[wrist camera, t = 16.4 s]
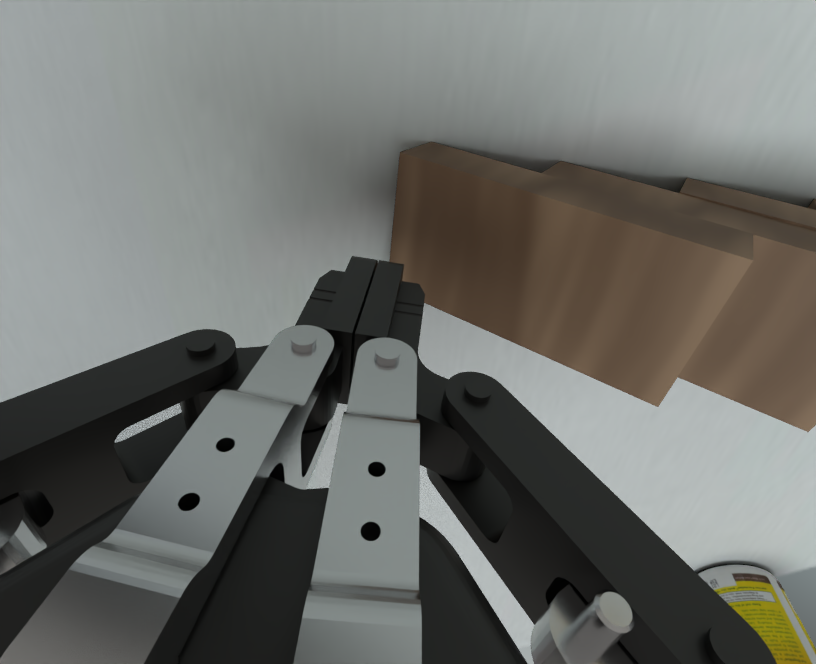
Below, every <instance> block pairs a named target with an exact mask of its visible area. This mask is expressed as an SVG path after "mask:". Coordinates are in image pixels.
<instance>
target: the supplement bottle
mask: <svg viewBox="0 0 816 664" xmlns="http://www.w3.org/2000/svg"><path fill="white" fill-rule="evenodd" d="M698 575H699V576H700V577H701V578H702V579H703V580H704V581H705V582H706V583H707V584H708V585H709V586H710V587H711V588H712V589H713V590H714V591H715V592H716V593H717V594H718V595H719V596H721V597H722V598H723V599H724V600H725V601H726V602H727V603H728V604H729V605H730V606H731V607H732V608H733V609H734V610H735V611H736V612H737V613H738V614H739V615H740V616H741V617H742V618H743V619H744V620H745V621H746V622H747V623H748V624H749V625H750V626H751V627H752V628H753V629H754V630H755V631H756V632H757V633H758V634H759V636H760V637H761V638H762V639H763V641H764V642H765V643H766V645H767V646H768V648H769V649H770V651H771V653H772V655H773V657H774V659H775V660H776V663H777V664H816V649H815V647H814V645H813V643H812V641H811V639H810V637H809V636H808V634H807V632H806V630H805V628H804V626H803V624H802V622H801V621H800V619H799V617H798V615H797V613H796V611H795V609H794V608H793V606H792V604H791V602H790V600H789V599H788V597H787V595H786V593H785V592H784V589H783V588H782V586H781V584H780V582H779V581H778V580H777V578H776V577H775V576H773V575H772V574H771V573H769V572H768V571H766V570H763V569H761V568H758V567H753V566H748V565H725V566H719V567H714V568H710V569H707V570H705V571H702V572H700V573H698Z"/></svg>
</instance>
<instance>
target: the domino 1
mask: <svg viewBox="0 0 816 664" xmlns="http://www.w3.org/2000/svg"><path fill="white" fill-rule="evenodd" d="M390 262H394V263H400V264H404V270H403V278H402V281H405V282H411V283H418V284H420V286H421V288H422V290H423V291H424V293H425V300H424V303H426V304H428V305H431V306H433V307H435V308H437V309H440V310H442V311H444V312H446V313H449V314H451V315H453V316H455V317H458V318H460V319H462V320H464V321H467V322H469V323H471V324H473V325H475V326H478V327H480V328H482V329H484V330H487V331H489V332H491V333H493V334H496V335H498V336H500V337H502V338H505V339H507V340H509V341H511V342H514V343H516V344H518V345H520V346H523V347H525V348H527V349H529V350H531V351H534V352H536V353H538V354H540V355H543V356H545V357H547V358H549V359H552V360H554V361H556V362H558V363H561V364H563V365H565V366H567V367H570V368H572V369H574V370H576V371H579V372H581V373H583V374H585V375H587V376H590V377H592V378H594V379H596V380H599V381H601V382H603V383H605V384H608V385H610V386H612V387H614V388H617V389H619V390H621V391H623V392H626V393H628V394H630V395H632V396H635V397H637V398H639V399H641V400H643V401H646V402H648V403H650V404H652V405H655V406H657V407H658V406H659V405H660V403H661V402H662V400H663V399H664V397H665V396H666V394H667V392H668V391H669V389H670V388H671V386H672V385H673V383H674V382H675V380H676V379H677V377H678V376H679V374H680V372H681V371H682V369H683V368H684V366H685V365H686V363H687V362H688V360H689V359H690V357H691V356H692V354H693V352H694V351H695V349H696V348H697V346H698V345H699V343H700V342H701V340H702V339H703V337H704V336H705V334H706V332H707V331H708V329H709V328H710V326H711V325H712V323H713V322H714V320H715V319H716V317H717V316H718V314H719V312H720V311H721V309H722V308H723V306H724V305H725V303H726V302H727V300H728V299H729V297H730V296H731V294H732V292H733V291H734V289H735V288H736V286H737V285H738V283H739V282H740V280H741V279H742V277H743V276H744V274H745V272H746V271H747V269H748V268H749V266H750V265H751V263H752V262H753V234H752V233H748V232H745V231H741V230H738V229H734V228H731V227H727V226H724V225H720V224H717V223H713V222H710V221H706V220H703V219H699V218H696V217H692V216H689V215H686V214H682V213H679V212H675V211H672V210H668V209H665V208H661V207H658V206H654V205H651V204H647V203H644V202H640V201H637V200H633V199H630V198H626V197H623V196H619V195H616V194H612V193H609V192H605V191H602V190H598V189H595V188H591V187H588V186H584V185H581V184H577V183H574V182H570V181H567V180H563V179H560V178H556V177H553V176H549V175H546V174H542V173H539V172H535V171H532V170H528V169H525V168H521V167H518V166H514V165H511V164H507V163H504V162H500V161H497V160H494V159H490V158H487V157H483V156H480V155H476V154H473V153H469V152H466V151H462V150H459V149H455V148H452V147H448V146H445V145H441V144H438V143H434V142H429V143H426V144H423V145H420V146H417V147H414V148H411V149H408V150H405V151H402V152H400V157H399V167H398V178H397V188H396V199H395V209H394V220H393V230H392V241H391V251H390Z"/></svg>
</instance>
